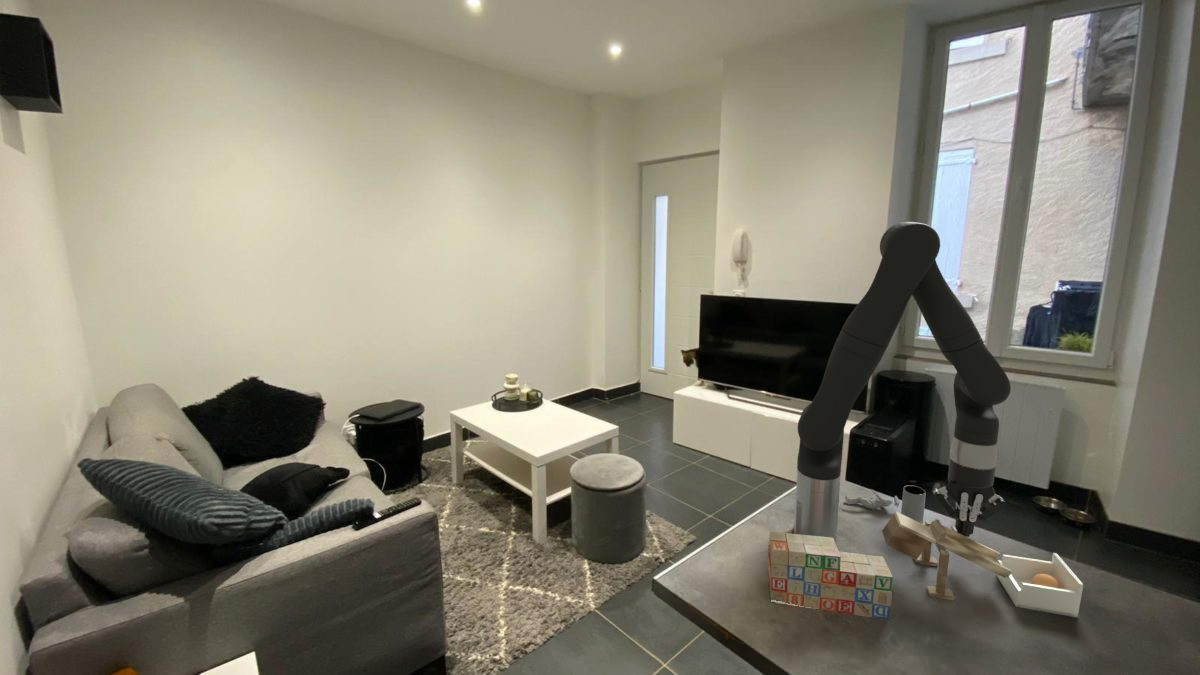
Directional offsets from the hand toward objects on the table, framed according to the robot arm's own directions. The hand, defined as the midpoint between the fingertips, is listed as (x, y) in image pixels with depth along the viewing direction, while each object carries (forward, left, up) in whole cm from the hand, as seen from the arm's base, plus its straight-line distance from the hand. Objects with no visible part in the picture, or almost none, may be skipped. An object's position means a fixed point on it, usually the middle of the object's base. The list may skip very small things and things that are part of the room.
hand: (963, 534), depth 103 cm
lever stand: (-7, -7, -7) cm, 12 cm away
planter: (-7, +11, -7) cm, 15 cm away
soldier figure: (-14, +19, -7) cm, 25 cm away
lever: (-7, -4, -3) cm, 9 cm away
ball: (+12, -7, -5) cm, 14 cm away
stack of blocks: (-28, -20, -7) cm, 35 cm away
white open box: (+10, -7, -7) cm, 14 cm away
